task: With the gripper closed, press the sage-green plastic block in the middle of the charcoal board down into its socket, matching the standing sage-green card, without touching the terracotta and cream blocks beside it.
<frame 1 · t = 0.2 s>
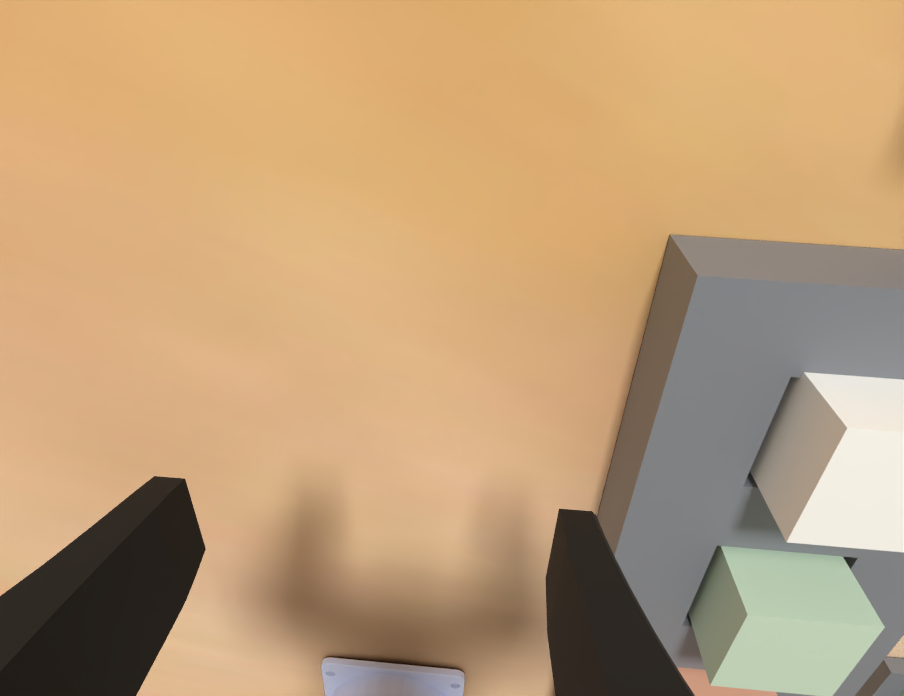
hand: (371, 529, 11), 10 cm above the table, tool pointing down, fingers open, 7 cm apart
cream block: (858, 446, 17), point 3 cm above the table, slide at 0.0 cm, touching button board
sage block: (769, 605, 22), point 4 cm above the table, slide at 0.0 cm
button board: (737, 531, 25), on the table
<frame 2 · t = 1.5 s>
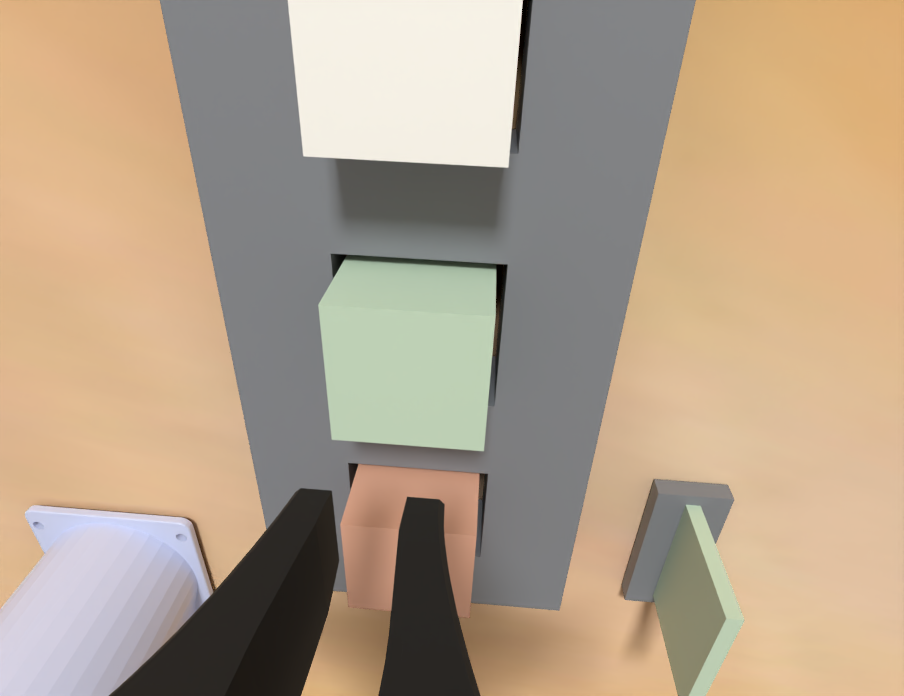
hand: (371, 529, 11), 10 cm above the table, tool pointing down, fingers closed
cream block: (417, 38, 13), point 3 cm above the table, slide at 0.0 cm, touching button board
sage block: (416, 343, 17), point 3 cm above the table, slide at 0.0 cm
prompt card: (670, 538, 26), on the table
button board: (428, 291, 20), on the table
terracotta block: (415, 527, 21), point 3 cm above the table, slide at 0.0 cm, touching button board
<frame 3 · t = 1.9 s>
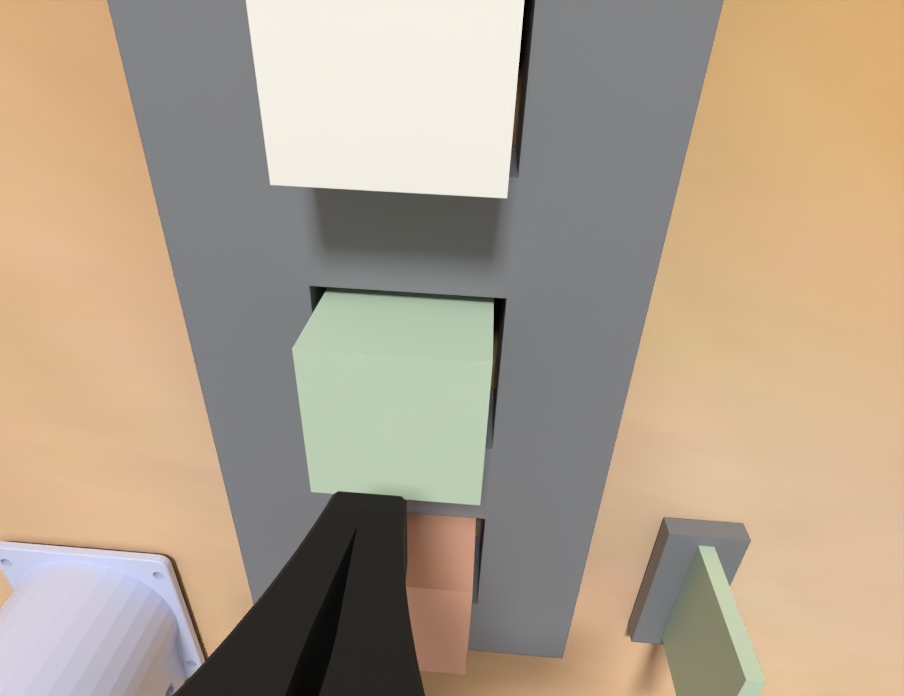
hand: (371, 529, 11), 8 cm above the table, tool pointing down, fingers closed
cream block: (402, 48, 11), point 3 cm above the table, slide at 0.0 cm, touching button board
sage block: (405, 384, 15), point 3 cm above the table, slide at 0.0 cm
prompt card: (681, 578, 24), on the table
button board: (420, 320, 18), on the table
terracotta block: (407, 575, 20), point 3 cm above the table, slide at 0.0 cm, touching button board
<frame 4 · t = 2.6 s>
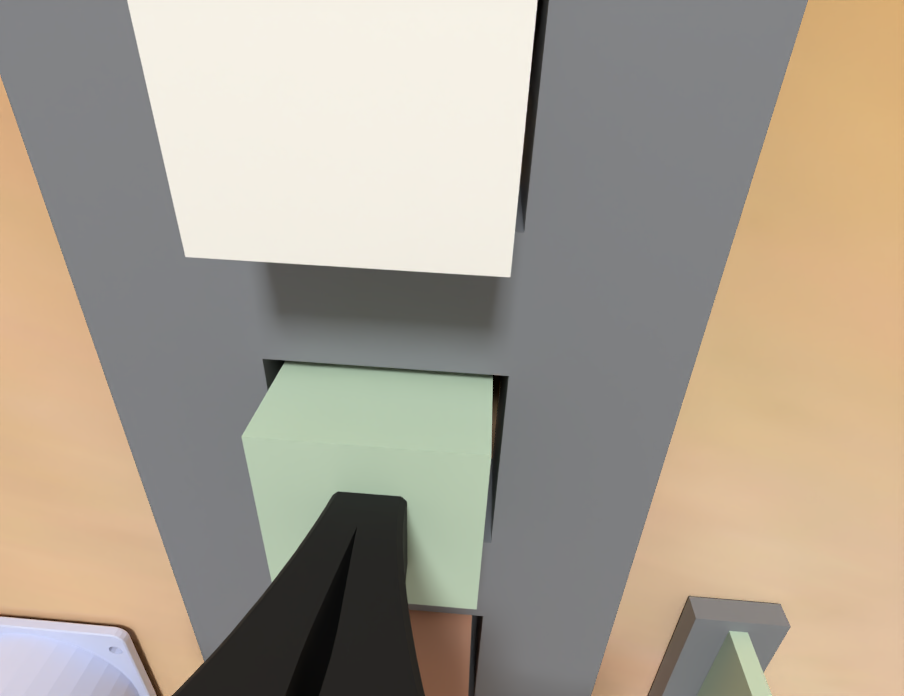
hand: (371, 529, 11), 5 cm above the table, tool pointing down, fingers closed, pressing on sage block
cream block: (368, 68, 8), point 3 cm above the table, slide at 0.0 cm, touching button board
sage block: (387, 460, 13), point 3 cm above the table, slide at 0.5 cm, touching gripper
prompt card: (706, 658, 21), on the table
button board: (406, 382, 15), on the table
terracotta block: (391, 675, 17), point 3 cm above the table, slide at 0.0 cm, touching button board
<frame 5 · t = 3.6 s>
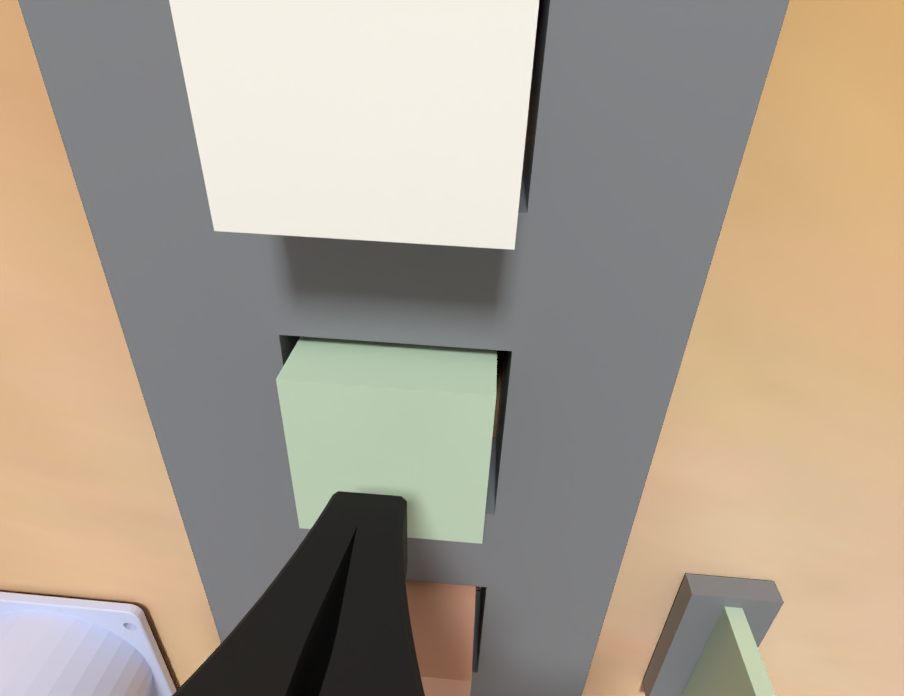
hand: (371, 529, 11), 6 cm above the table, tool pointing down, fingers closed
cream block: (382, 56, 9), point 3 cm above the table, slide at 0.0 cm, touching button board
sage block: (401, 411, 14), point 2 cm above the table, slide at 1.3 cm
prompt card: (702, 635, 22), on the table
button board: (413, 362, 16), on the table
terracotta block: (398, 645, 17), point 3 cm above the table, slide at 0.0 cm, touching button board
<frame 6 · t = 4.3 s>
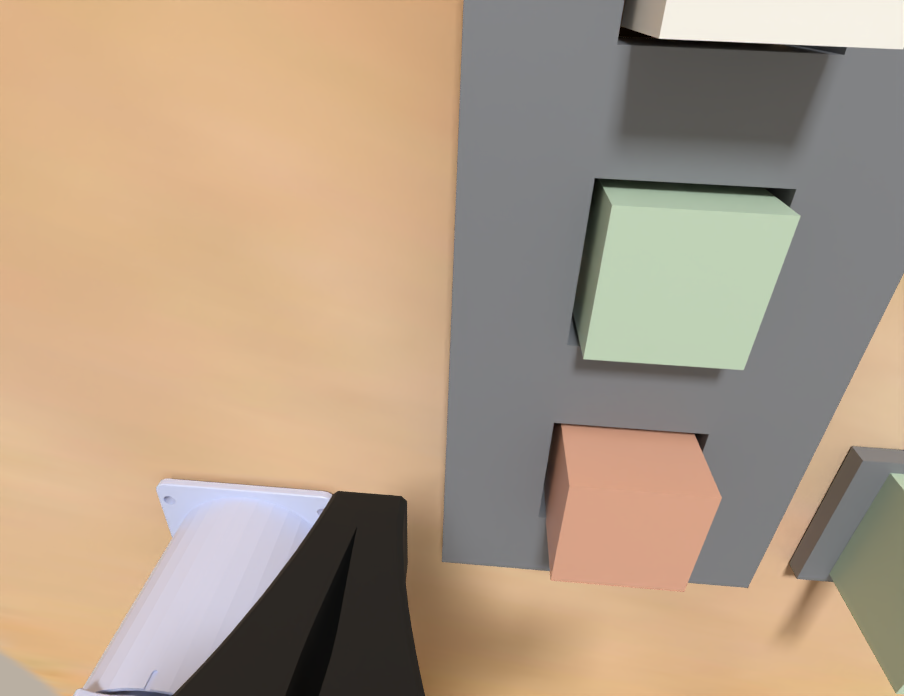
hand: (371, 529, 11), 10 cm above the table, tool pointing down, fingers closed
sage block: (664, 262, 16), point 2 cm above the table, slide at 1.3 cm
prompt card: (854, 512, 24), on the table
button board: (647, 234, 18), on the table
terracotta block: (619, 494, 20), point 3 cm above the table, slide at 0.0 cm, touching button board
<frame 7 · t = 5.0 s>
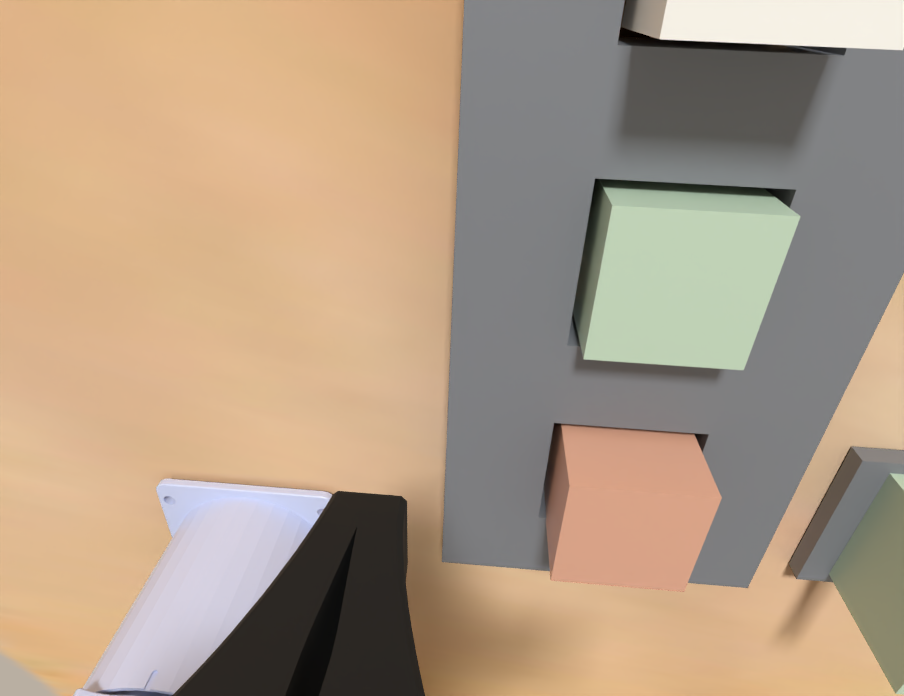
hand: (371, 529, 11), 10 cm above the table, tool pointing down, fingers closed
sage block: (664, 262, 17), point 2 cm above the table, slide at 1.3 cm
prompt card: (854, 512, 24), on the table
button board: (647, 235, 18), on the table
terracotta block: (619, 494, 20), point 3 cm above the table, slide at 0.0 cm, touching button board
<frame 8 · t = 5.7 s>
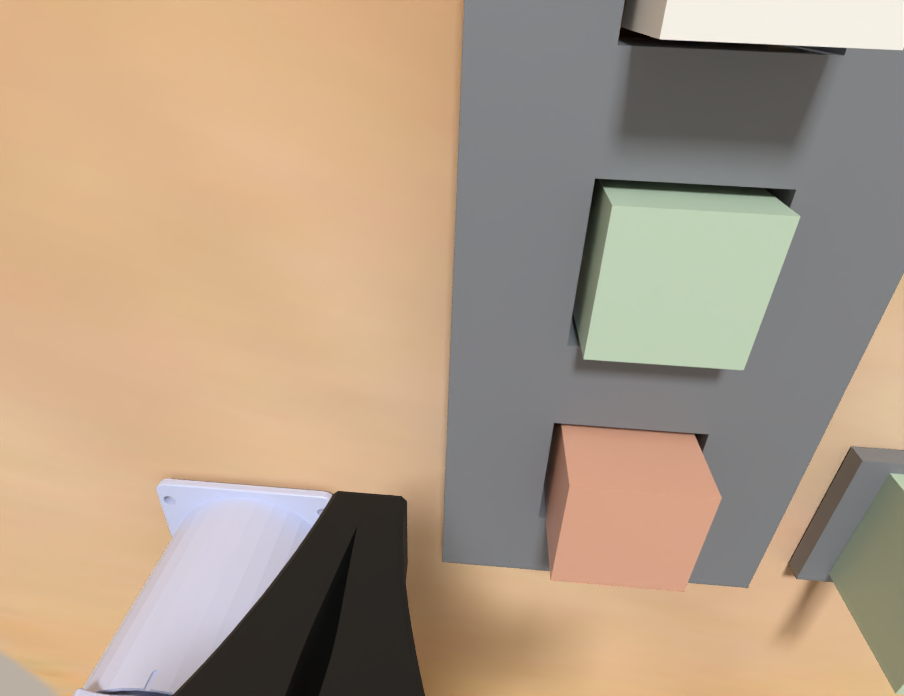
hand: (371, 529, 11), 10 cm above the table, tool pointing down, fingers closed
sage block: (664, 262, 17), point 2 cm above the table, slide at 1.3 cm
prompt card: (854, 512, 24), on the table
button board: (647, 235, 18), on the table
terracotta block: (619, 494, 20), point 3 cm above the table, slide at 0.0 cm, touching button board
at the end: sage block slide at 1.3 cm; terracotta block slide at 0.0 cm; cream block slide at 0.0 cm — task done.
